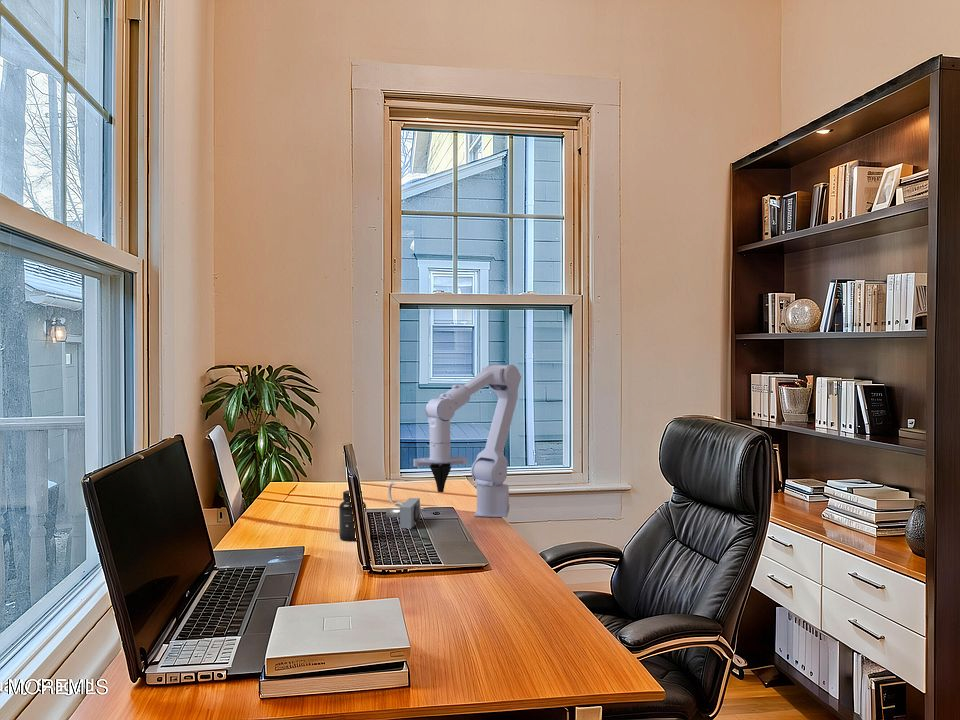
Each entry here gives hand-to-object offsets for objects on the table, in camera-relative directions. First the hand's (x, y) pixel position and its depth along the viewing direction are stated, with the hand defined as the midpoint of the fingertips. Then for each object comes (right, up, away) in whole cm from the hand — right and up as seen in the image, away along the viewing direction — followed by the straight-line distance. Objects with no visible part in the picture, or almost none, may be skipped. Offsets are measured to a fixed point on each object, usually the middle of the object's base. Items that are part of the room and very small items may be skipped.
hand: (440, 491), depth 201 cm
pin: (-10, -9, +1) cm, 13 cm away
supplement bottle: (-22, -10, -13) cm, 27 cm away
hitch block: (-8, -9, +1) cm, 13 cm away
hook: (-13, -10, +22) cm, 28 cm away
